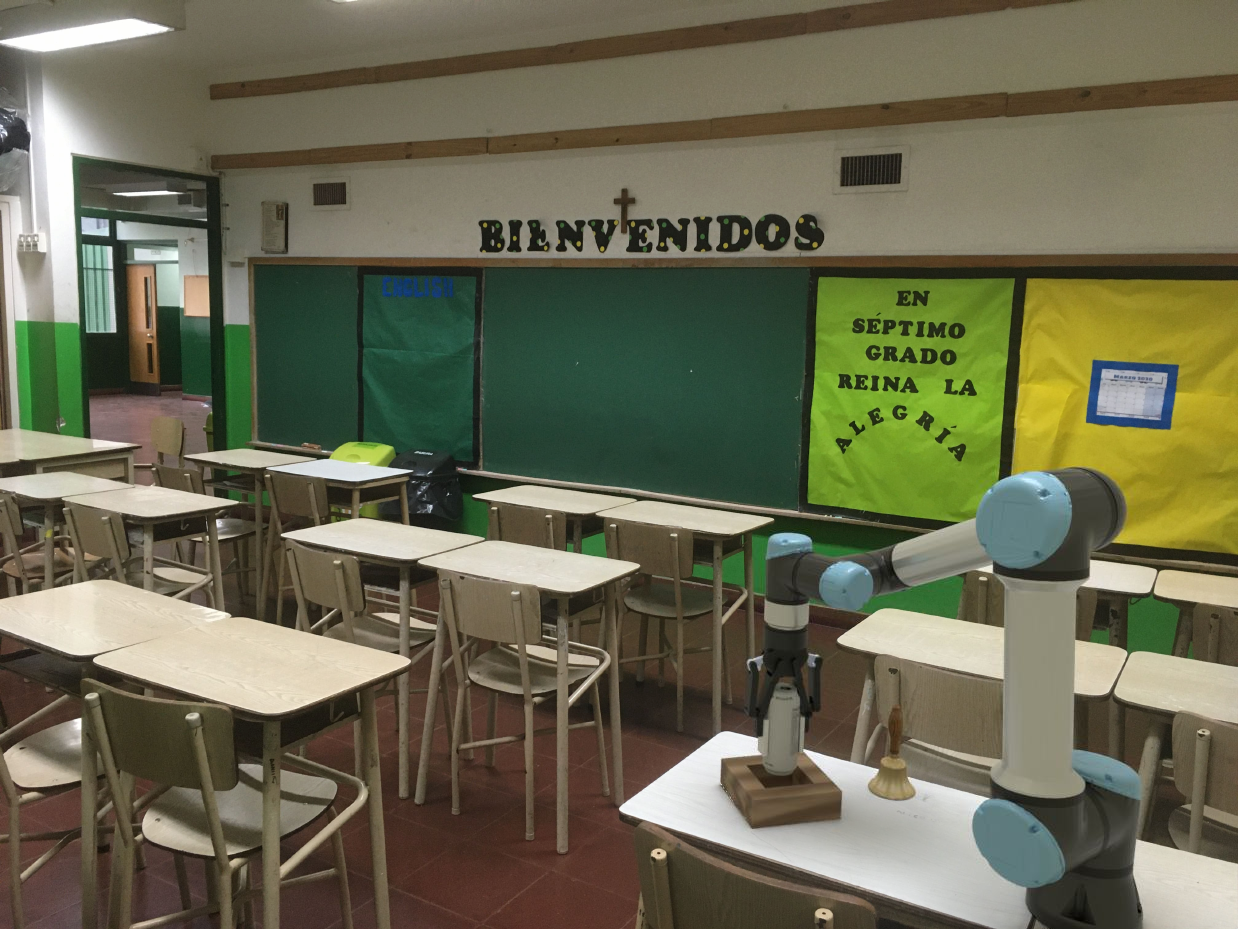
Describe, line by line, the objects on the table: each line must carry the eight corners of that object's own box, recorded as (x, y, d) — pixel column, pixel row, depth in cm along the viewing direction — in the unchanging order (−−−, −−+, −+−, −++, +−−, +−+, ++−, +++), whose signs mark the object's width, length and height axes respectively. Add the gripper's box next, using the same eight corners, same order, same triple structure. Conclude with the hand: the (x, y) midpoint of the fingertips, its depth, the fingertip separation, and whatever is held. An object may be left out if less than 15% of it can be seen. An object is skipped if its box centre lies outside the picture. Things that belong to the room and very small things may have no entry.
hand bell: (921, 801, 172) (926, 715, 169) (874, 800, 172) (879, 714, 170) (908, 779, 180) (913, 697, 178) (863, 778, 180) (868, 696, 178)
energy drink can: (765, 759, 174) (768, 679, 172) (799, 764, 172) (802, 683, 170) (759, 773, 168) (762, 691, 166) (793, 779, 166) (797, 696, 164)
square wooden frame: (840, 818, 165) (842, 791, 164) (752, 828, 161) (753, 800, 160) (801, 776, 180) (802, 751, 180) (720, 784, 176) (721, 758, 176)
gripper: (827, 614, 172) (821, 738, 175) (726, 620, 168) (721, 747, 171) (846, 627, 165) (839, 756, 168) (741, 633, 160) (736, 765, 164)
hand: (780, 751), depth 169 cm, fingers closed on energy drink can, 6 cm apart
